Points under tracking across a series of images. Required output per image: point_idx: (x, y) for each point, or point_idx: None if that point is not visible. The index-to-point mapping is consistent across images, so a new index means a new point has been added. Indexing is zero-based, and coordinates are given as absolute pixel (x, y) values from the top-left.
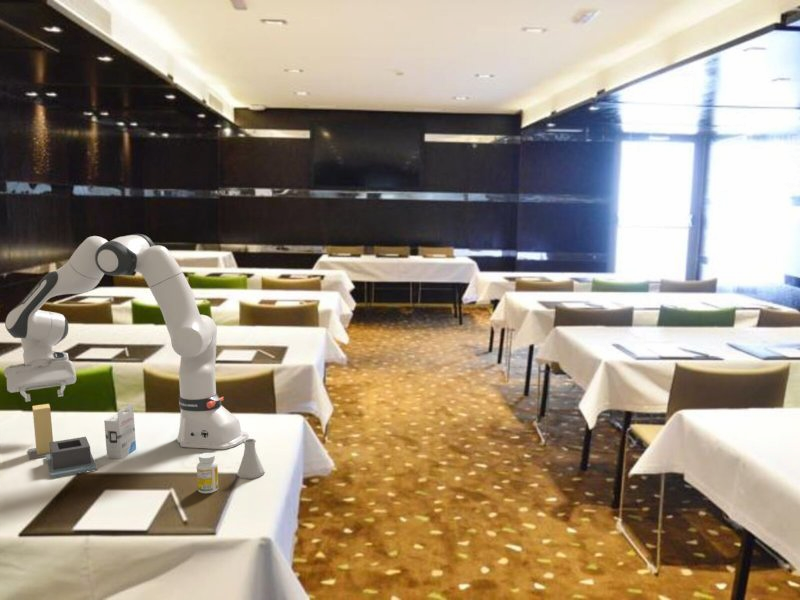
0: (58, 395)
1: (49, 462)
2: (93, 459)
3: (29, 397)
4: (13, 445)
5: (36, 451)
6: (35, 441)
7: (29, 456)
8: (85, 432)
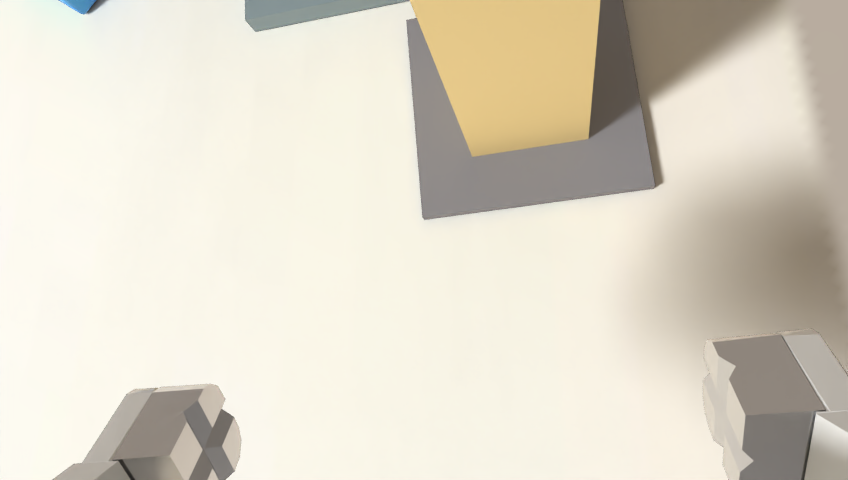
0: (221, 397)
1: None
2: None
3: (731, 345)
4: None
5: None
6: (590, 109)
7: (624, 16)
8: (236, 473)
